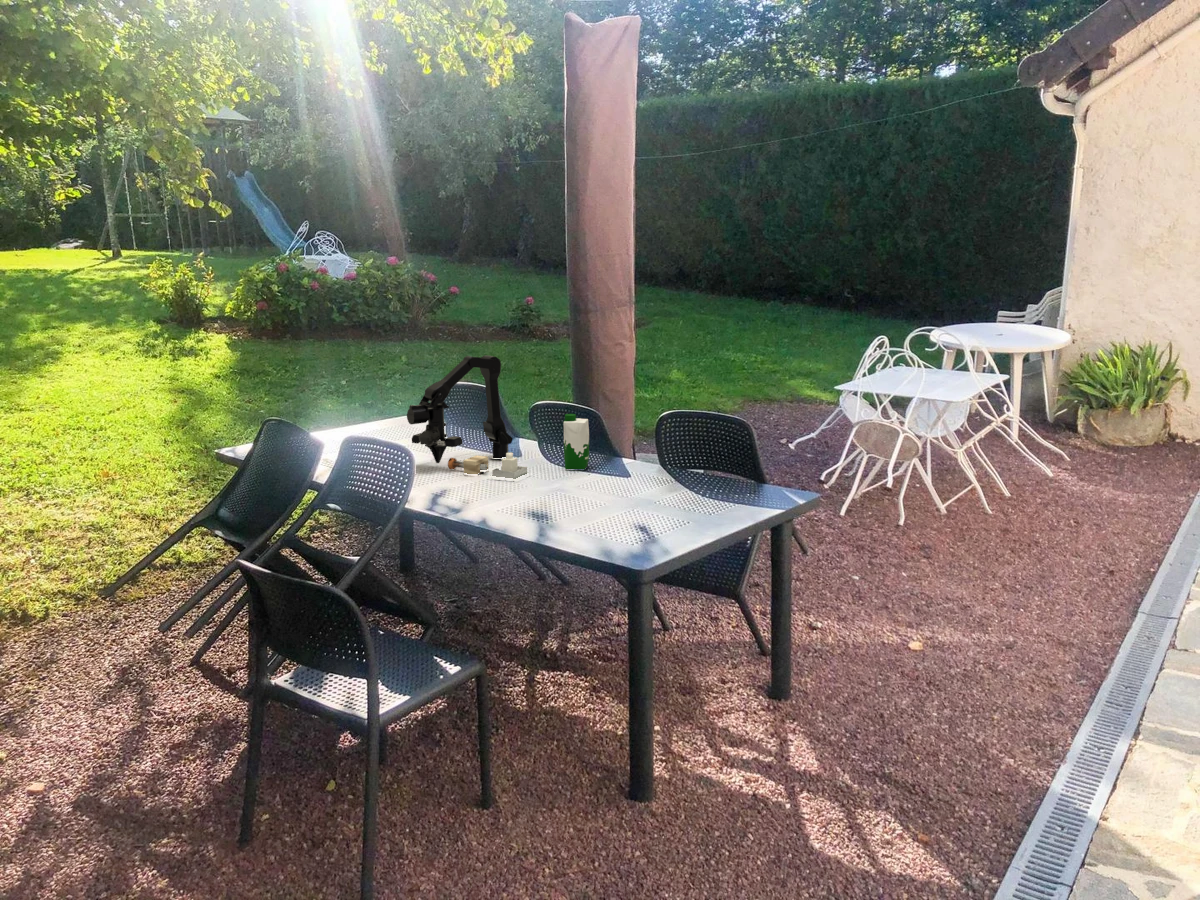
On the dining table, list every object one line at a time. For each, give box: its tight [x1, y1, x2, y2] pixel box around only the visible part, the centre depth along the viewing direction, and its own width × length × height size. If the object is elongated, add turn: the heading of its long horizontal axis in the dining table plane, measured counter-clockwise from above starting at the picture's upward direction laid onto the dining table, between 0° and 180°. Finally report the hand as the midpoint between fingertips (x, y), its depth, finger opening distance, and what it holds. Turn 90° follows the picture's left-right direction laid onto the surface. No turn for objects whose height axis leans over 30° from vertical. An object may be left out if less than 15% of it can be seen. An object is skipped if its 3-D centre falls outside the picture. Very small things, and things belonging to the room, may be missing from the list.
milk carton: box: [563, 413, 590, 470], centre depth 346 cm, size 9×9×20 cm
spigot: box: [501, 451, 519, 472], centre depth 336 cm, size 4×4×8 cm
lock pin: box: [447, 457, 487, 470], centre depth 343 cm, size 4×15×4 cm, turn 65°
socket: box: [491, 465, 528, 479], centre depth 336 cm, size 12×12×3 cm
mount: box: [462, 455, 489, 474], centre depth 342 cm, size 9×5×5 cm, turn 155°
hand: (437, 462), depth 349 cm, fingers closed
